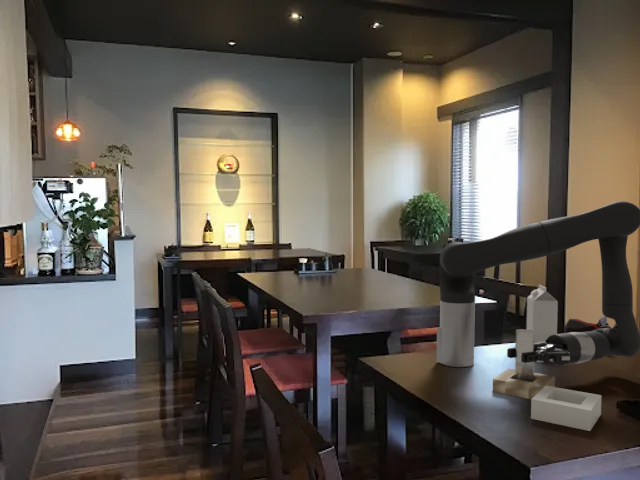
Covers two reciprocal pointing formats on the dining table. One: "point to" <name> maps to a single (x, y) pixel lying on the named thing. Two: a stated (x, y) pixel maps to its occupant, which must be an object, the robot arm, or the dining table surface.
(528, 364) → the steel peg
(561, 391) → the grey socket
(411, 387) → the dining table surface
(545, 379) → the maple socket
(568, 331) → the toy
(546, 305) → the milk carton
